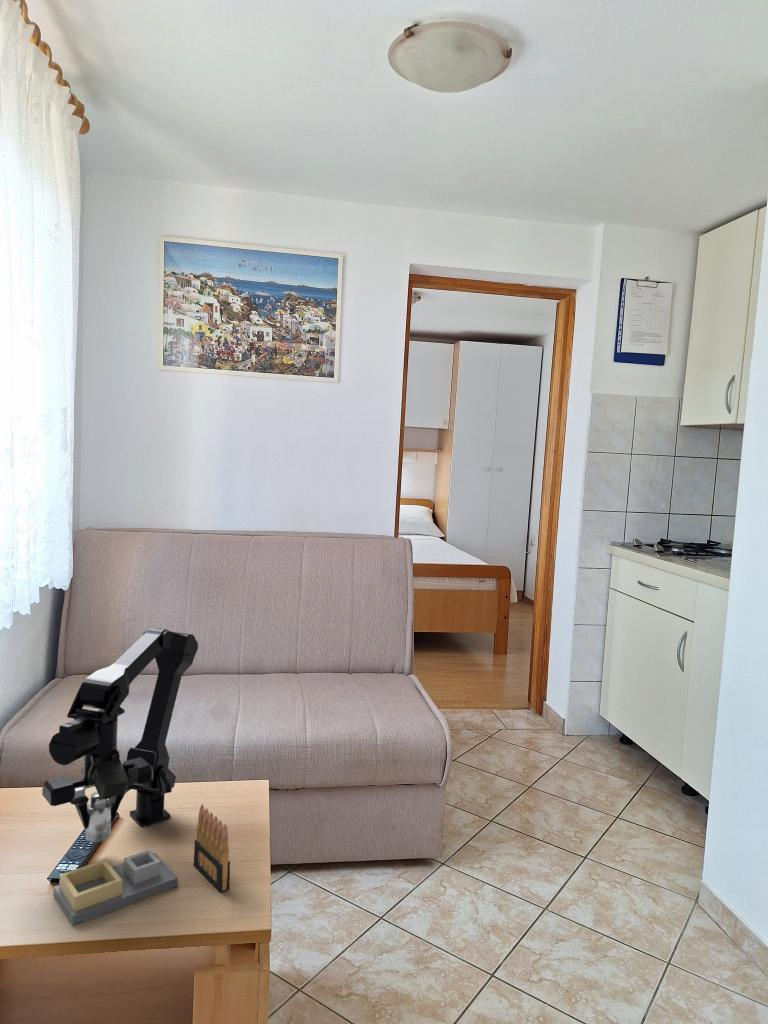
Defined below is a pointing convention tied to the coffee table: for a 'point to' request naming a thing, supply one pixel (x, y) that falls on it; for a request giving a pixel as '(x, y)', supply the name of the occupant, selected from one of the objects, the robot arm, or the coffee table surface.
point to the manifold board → (111, 885)
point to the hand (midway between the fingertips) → (98, 824)
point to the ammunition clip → (212, 850)
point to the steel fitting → (98, 819)
